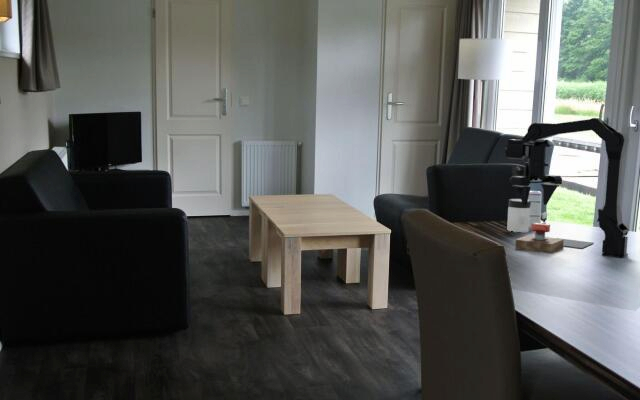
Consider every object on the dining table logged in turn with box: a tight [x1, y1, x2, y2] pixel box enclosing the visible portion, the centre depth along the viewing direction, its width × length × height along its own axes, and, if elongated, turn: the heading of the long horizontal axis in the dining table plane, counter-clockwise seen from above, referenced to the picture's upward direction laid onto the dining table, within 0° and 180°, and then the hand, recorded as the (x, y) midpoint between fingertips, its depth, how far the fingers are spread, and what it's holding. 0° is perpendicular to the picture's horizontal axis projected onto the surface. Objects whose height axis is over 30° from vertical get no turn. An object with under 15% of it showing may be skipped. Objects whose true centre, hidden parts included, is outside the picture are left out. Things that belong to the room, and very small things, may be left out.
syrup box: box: [528, 190, 543, 229], centre depth 275 cm, size 6×6×14 cm
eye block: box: [514, 234, 565, 254], centre depth 233 cm, size 12×12×3 cm
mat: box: [557, 237, 594, 250], centre depth 242 cm, size 13×13×1 cm
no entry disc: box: [530, 223, 551, 241], centre depth 233 cm, size 6×6×8 cm
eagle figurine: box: [541, 211, 548, 223], centre depth 287 cm, size 8×7×9 cm
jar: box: [506, 198, 531, 233], centre depth 267 cm, size 9×8×12 cm
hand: (534, 205), depth 237 cm, fingers open, 9 cm apart
